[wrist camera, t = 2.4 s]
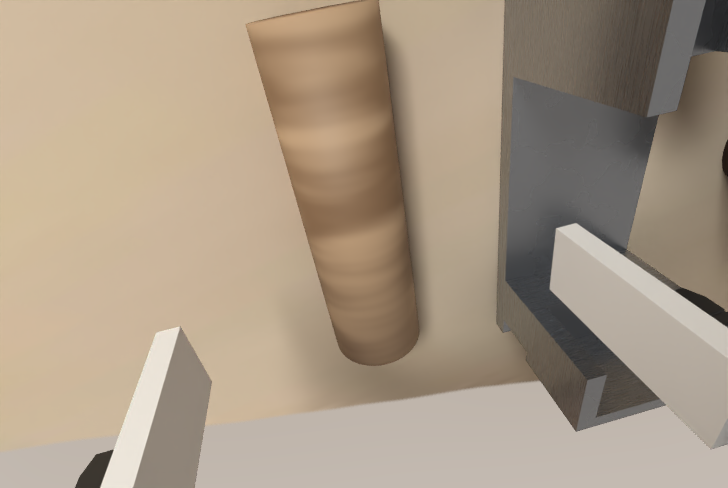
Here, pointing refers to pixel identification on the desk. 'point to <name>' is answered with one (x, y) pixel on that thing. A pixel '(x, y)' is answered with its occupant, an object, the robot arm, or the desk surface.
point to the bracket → (584, 168)
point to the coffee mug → (725, 159)
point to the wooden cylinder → (344, 168)
